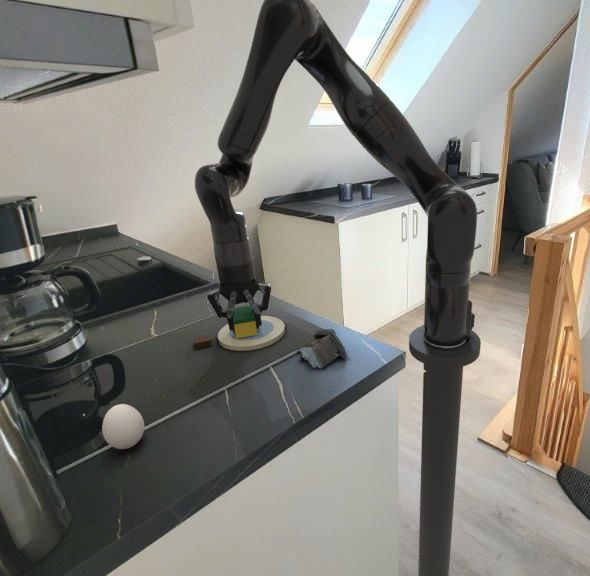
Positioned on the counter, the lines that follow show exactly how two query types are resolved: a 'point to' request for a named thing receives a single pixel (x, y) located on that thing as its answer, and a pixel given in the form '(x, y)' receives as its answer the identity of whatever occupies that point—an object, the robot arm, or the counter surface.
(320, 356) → the grey jagged block
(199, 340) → the crumb
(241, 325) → the sponge
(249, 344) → the plate
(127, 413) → the egg
